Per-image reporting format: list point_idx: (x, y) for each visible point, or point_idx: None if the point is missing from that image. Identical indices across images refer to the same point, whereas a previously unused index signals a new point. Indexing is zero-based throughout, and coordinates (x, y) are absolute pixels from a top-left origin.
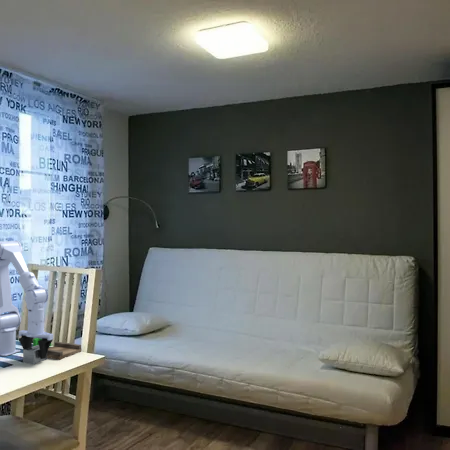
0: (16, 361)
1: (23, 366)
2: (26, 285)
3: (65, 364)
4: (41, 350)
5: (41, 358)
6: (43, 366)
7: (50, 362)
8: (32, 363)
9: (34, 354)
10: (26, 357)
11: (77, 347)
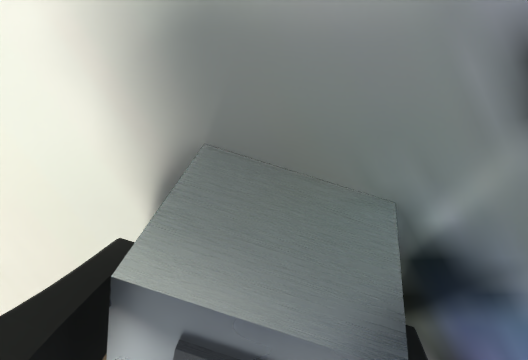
0: (521, 244)
1: (290, 23)
2: None
3: None
4: (17, 317)
5: (117, 241)
6: (22, 76)
7: (70, 233)
8: (219, 154)
9: (145, 243)
10: (325, 235)
11: None
